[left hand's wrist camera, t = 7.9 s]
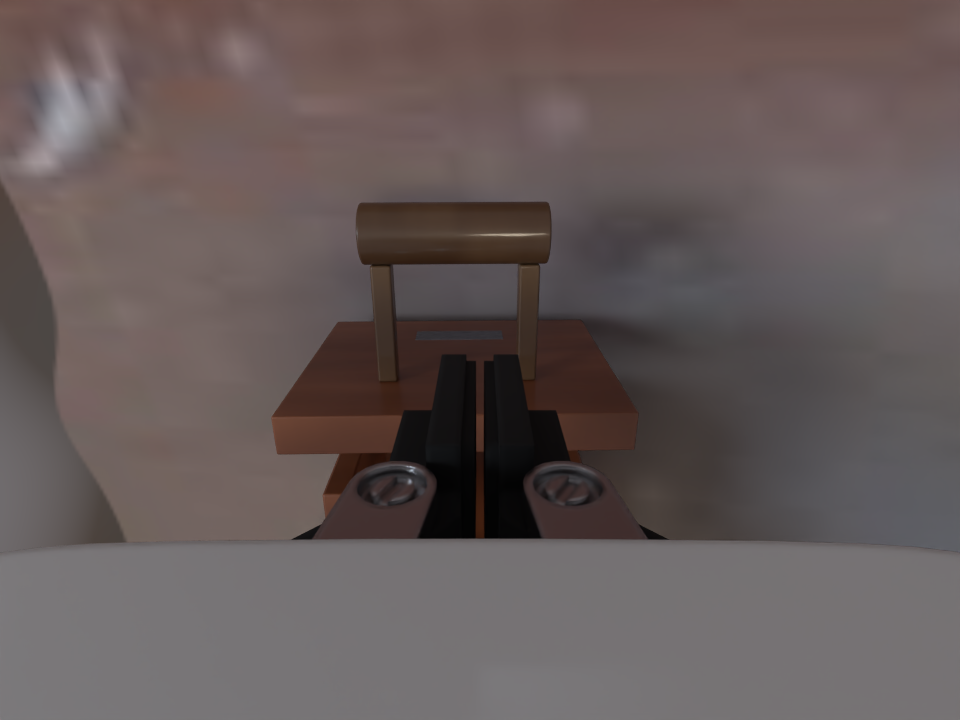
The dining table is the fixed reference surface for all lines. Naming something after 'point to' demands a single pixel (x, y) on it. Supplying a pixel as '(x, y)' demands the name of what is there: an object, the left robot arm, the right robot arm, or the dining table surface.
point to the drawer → (447, 346)
